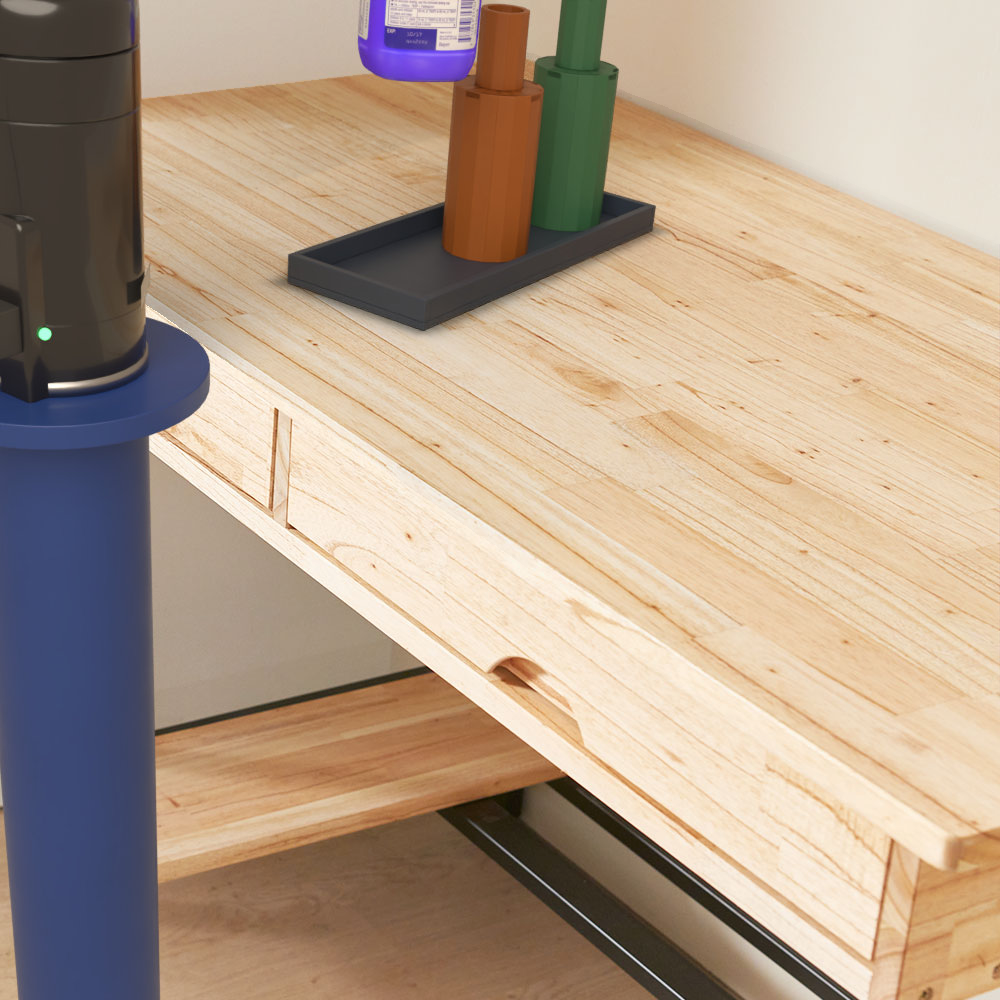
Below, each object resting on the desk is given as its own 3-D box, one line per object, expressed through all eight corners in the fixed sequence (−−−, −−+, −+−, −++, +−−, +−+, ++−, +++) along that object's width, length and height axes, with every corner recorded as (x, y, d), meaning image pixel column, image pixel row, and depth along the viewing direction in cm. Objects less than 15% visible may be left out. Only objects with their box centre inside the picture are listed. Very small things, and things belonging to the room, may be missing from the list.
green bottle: (571, 243, 113) (599, 5, 105) (504, 223, 116) (526, -10, 108) (613, 226, 118) (642, -3, 110) (547, 207, 120) (571, -18, 112)
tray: (423, 331, 96) (425, 300, 95) (286, 282, 101) (287, 253, 100) (652, 230, 118) (656, 205, 117) (531, 195, 123) (533, 170, 122)
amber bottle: (494, 275, 106) (518, 22, 98) (424, 253, 108) (442, 5, 100) (542, 256, 110) (568, 12, 102) (473, 235, 113) (494, -5, 105)
